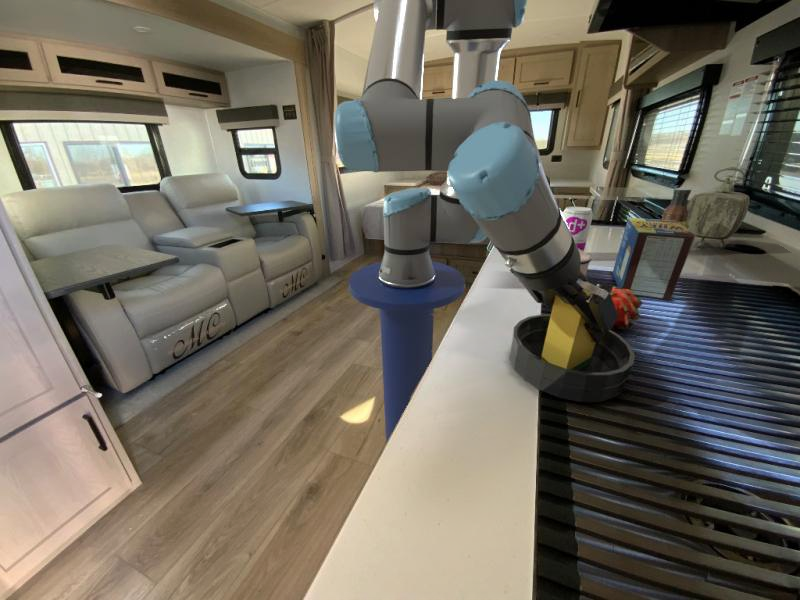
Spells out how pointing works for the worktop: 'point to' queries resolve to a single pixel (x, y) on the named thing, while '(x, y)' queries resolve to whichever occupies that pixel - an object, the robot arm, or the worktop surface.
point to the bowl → (583, 385)
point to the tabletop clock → (717, 211)
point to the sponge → (567, 338)
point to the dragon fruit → (625, 307)
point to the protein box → (652, 257)
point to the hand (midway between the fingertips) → (585, 328)
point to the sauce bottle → (678, 206)
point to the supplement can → (578, 224)
